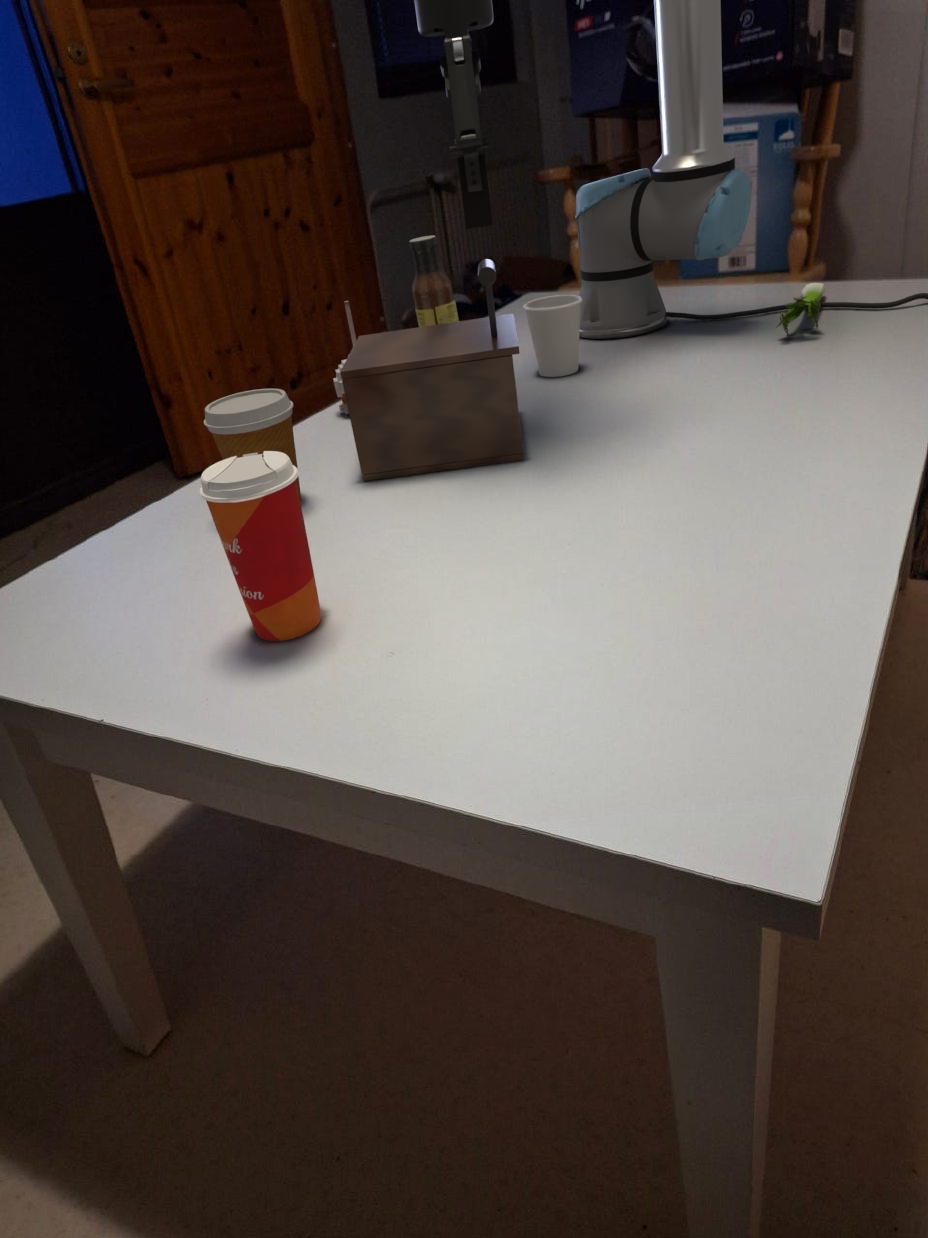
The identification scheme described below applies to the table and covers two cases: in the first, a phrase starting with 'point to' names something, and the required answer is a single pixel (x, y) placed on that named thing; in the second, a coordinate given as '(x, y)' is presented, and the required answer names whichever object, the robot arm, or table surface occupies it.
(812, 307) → the leek
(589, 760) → the table surface
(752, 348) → the table surface
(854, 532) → the table surface
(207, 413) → the disposable coffee cup
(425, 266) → the sauce bottle
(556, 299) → the dixie cup
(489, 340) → the lid
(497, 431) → the chest
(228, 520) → the paper cup
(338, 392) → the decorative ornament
